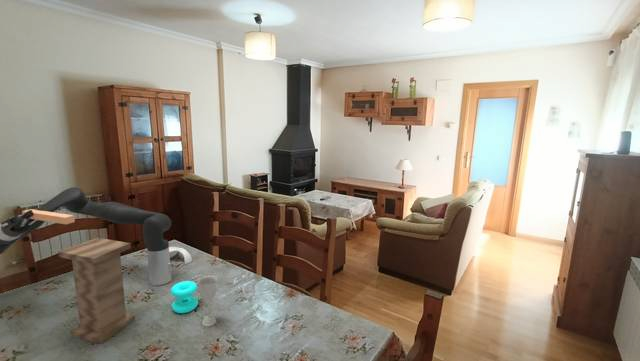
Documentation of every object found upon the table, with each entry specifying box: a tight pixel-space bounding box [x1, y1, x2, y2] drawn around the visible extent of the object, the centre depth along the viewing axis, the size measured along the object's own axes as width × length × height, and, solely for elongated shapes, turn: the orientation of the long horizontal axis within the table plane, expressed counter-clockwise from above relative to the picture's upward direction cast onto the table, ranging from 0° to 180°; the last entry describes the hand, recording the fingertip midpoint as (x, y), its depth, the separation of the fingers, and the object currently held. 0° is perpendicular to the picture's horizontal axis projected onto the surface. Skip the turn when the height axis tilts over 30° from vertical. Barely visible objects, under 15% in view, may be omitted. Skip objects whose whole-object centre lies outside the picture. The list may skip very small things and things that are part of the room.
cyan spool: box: [170, 280, 199, 314], centre depth 128 cm, size 10×10×10 cm
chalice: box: [197, 274, 218, 327], centre depth 119 cm, size 7×7×18 cm
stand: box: [57, 237, 136, 345], centre depth 112 cm, size 16×14×32 cm
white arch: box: [169, 246, 193, 265], centre depth 174 cm, size 24×12×7 cm, turn 65°
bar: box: [21, 208, 76, 225], centre depth 114 cm, size 22×3×2 cm, turn 74°
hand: (37, 211), depth 115 cm, fingers closed on bar, 3 cm apart
